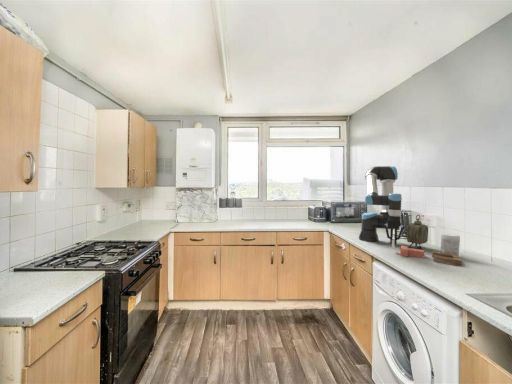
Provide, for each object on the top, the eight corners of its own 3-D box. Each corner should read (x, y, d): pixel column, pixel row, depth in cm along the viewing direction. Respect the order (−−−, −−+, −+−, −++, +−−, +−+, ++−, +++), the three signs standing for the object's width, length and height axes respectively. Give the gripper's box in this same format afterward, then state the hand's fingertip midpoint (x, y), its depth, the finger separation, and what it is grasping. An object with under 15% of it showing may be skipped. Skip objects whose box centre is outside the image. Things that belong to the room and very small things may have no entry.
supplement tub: (442, 252, 161) (443, 232, 160) (460, 256, 153) (461, 234, 153) (438, 255, 154) (439, 234, 154) (457, 259, 147) (458, 236, 146)
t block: (400, 251, 164) (401, 245, 163) (423, 254, 156) (423, 248, 156) (400, 255, 153) (400, 250, 153) (424, 259, 145) (424, 253, 145)
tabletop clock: (414, 244, 181) (415, 213, 180) (428, 247, 173) (429, 214, 172) (406, 247, 173) (407, 214, 172) (420, 250, 165) (421, 216, 164)
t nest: (432, 255, 154) (432, 251, 154) (457, 259, 147) (457, 254, 146) (433, 261, 142) (434, 256, 142) (461, 266, 135) (461, 261, 135)
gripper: (383, 215, 160) (382, 248, 161) (405, 217, 153) (403, 251, 154) (384, 214, 166) (383, 245, 167) (405, 215, 159) (404, 249, 160)
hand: (393, 248), depth 161 cm, fingers closed
